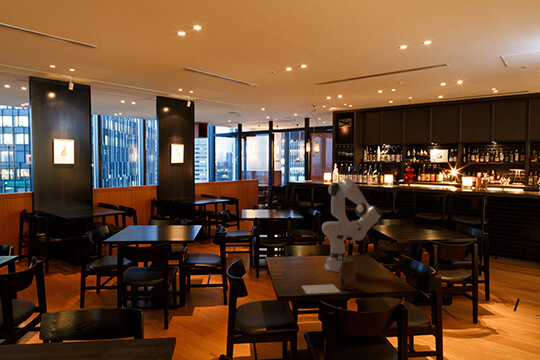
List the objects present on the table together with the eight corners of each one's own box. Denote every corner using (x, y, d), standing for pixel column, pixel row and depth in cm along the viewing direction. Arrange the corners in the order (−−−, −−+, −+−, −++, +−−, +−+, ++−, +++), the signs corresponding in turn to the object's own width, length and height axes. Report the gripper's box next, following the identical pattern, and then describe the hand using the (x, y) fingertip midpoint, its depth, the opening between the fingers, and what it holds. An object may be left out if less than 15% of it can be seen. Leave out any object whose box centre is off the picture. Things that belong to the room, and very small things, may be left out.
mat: (301, 286, 240) (301, 285, 240) (333, 284, 243) (333, 284, 243) (306, 293, 225) (306, 293, 225) (340, 292, 229) (340, 291, 229)
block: (354, 286, 240) (354, 257, 239) (356, 290, 232) (356, 260, 232) (338, 286, 241) (338, 257, 240) (339, 290, 233) (339, 260, 232)
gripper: (365, 227, 238) (351, 240, 242) (350, 220, 224) (336, 234, 228) (371, 233, 234) (356, 247, 238) (356, 226, 220) (341, 241, 224)
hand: (346, 241), depth 233 cm, fingers open, 8 cm apart
